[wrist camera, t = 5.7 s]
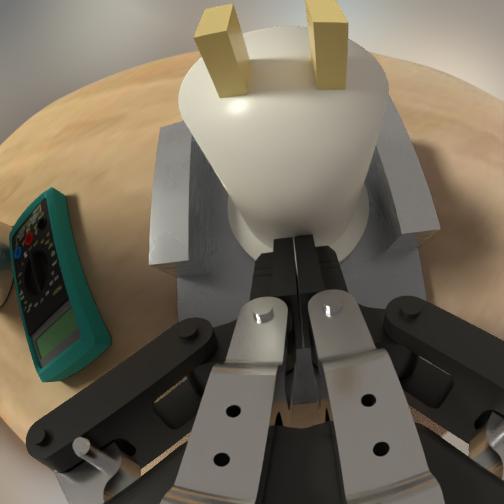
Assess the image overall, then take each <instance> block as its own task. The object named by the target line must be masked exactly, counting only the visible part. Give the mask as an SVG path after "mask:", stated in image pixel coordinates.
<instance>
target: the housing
mask: <svg viewBox="0 0 504 504" xmlns="http://www.w3.org/2000/svg"><path fill="white" fill-rule="evenodd" d="M364 184H365V187H366V189H367V193H368V198H369V217H368V221H367V225H366V228H365V230H364V233H363V235H362V237H361V239H360V240H359V242H358V244H357V246H356V247H355V249H354V250H353V251H352V252H351V254H350V255H349V256H348V257H346V258H345V259H344V260H343V261H342V262H340V263H339V264H340V268H341V270H342V273H343V276H344V279H345V283H346V286H347V289H348V292H349V293H350V294H351V295H352V296H353V297H354V298H355V299H356V301H357V303H358V304H360V305H363V306H366V307H370V308H380V309H386V306H387V305H388V303H389V302H390V301H391V300H392V299H394V298H397V297H400V296H415V297H418V298H421V299H423V300H425V301H427V299H426V292H425V285H424V279H423V273H422V267H421V262H420V257H419V252H418V247H420V246H421V245H422V244H423V243H425V242H426V241H427V240H428V239H429V238H431V237H432V236H433V235H434V234H435V233H437V232H438V231H439V230H440V229H441V228H440V224H439V221H438V217H437V213H436V210H435V206H434V203H433V200H432V197H431V193H430V190H429V187H428V184H427V181H426V178H425V176H424V173H423V170H422V167H421V165H420V162H419V159H418V157H417V154H416V152H415V149H414V147H413V144H412V142H411V140H410V137H409V135H408V133H407V131H406V128H405V126H404V124H403V122H402V120H401V118H400V115H399V113H398V111H397V109H396V107H395V105H394V103H393V101H392V99H391V97H390V96H389V95H388V102H387V106H386V110H385V113H384V117H383V121H382V125H381V128H380V132H379V136H378V139H377V143H376V146H375V149H374V153H373V156H372V159H371V163H370V166H369V169H368V172H367V175H366V178H365V181H364ZM228 197H229V194H228V192H227V191H226V189H225V188H224V186H223V184H222V183H221V181H220V179H219V178H218V176H217V174H216V173H215V171H214V169H213V168H212V166H211V164H210V163H209V161H208V159H207V158H206V156H205V155H204V153H203V151H202V150H201V148H200V146H199V145H198V143H197V141H196V140H195V138H194V137H193V135H192V133H191V132H190V130H189V128H188V127H187V125H186V124H185V122H184V120H183V121H182V122H179V123H175V124H172V125H168V126H165V127H161V128H160V133H159V140H158V148H157V155H156V164H155V173H154V182H153V193H152V206H151V220H150V240H149V265H150V266H152V267H154V268H157V269H159V270H161V271H164V272H166V273H168V274H171V275H173V276H175V277H177V304H178V322H180V321H182V320H185V319H188V318H193V317H198V318H203V319H206V320H208V321H209V322H210V323H211V325H212V327H216V326H220V325H223V324H227V323H229V322H232V321H234V320H236V319H238V316H239V312H240V310H241V309H242V307H243V306H244V305H245V304H246V303H248V302H249V300H250V293H251V286H252V279H253V272H254V265H255V260H254V259H253V258H252V257H250V256H249V255H248V253H247V252H246V251H245V250H244V249H243V247H242V246H241V245H240V244H239V242H238V241H237V239H236V237H235V236H234V234H233V231H232V229H231V226H230V223H229V218H228ZM297 278H298V276H297ZM298 289H299V284H298ZM299 302H300V296H299ZM300 316H301V331H302V347H303V349H296V364H295V368H296V371H295V384H294V396H293V404H305V403H315V402H317V396H316V390H315V384H314V378H313V372H312V360H311V348H305V347H304V336H303V325H302V315H301V305H300ZM420 358H422V357H421V356H420ZM422 359H423V360H425V361H427V360H426V359H424V358H422ZM427 362H428V363H430V364H431V365H432V363H431V362H429V361H427ZM186 379H187V377H186V376H185V377H184V378H183V379H182V383H183V382H184V381H185V380H186Z"/></svg>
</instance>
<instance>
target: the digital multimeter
mask: <svg viewBox="0 0 504 504" xmlns="http://www.w3.org/2000/svg"><path fill="white" fill-rule="evenodd" d="M53 237H54V238H53ZM54 242H55V243H54ZM9 245H10V254H11V262H12V269H13V275H14V281H15V287H16V292H17V298H18V303H19V308H20V313H21V317H22V321H23V326H24V330H25V334H26V338H27V342H28V345H29V349H30V352H31V356H32V359H33V362H34V365H35V368H36V371H37V373H38V375H39V377H40V379H41V381H42V382H54V381H61V380H63V379H65V378H67V377H69V376H71V375H73V374H75V373H77V372H78V371H80V370H81V369H83V368H84V367H86V366H87V365H88V364H90V363H91V362H92V361H93V360H94V359H96V358H97V357H98V356H99V355H100V354H101V353H103V352H104V351H105V350H106V349H107V348H108V347H109V346H110V344H111V338H110V335H109V333H108V331H107V329H106V327H105V324H104V322H103V320H102V318H101V316H100V314H99V311H98V309H97V307H96V304H95V302H94V300H93V297H92V295H91V293H90V290H89V288H88V285H87V282H86V279H85V276H84V273H83V270H82V267H81V264H80V261H79V257H78V254H77V251H76V247H75V242H74V238H73V234H72V229H71V225H70V221H69V215H68V209H67V202H66V196H65V195H64V194H62V193H60V192H59V191H57V190H56V189H54V188H53V187H51V188H49V189H48V190H47V191H45V192H44V193H42V194H41V195H40V196H39V197H38V198H37V199H35V200H34V201H33V202H32V203H31V204H30V205H29V206H28V207H27V209H26V210H25V211H24V212H23V214H22V215H21V216H20V217H19V219H18V220H17V222H16V224H15V225H14V227H13V228H12V230H11V232H10V234H9ZM55 247H56V248H55ZM56 251H57V252H56ZM59 264H60V265H59ZM63 279H64V280H63ZM65 286H66V287H65Z"/></svg>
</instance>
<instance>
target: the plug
mask: <svg viewBox="0 0 504 504" xmlns="http://www.w3.org/2000/svg"><path fill="white" fill-rule="evenodd" d="M305 4H306V14H307V23H308V27H300V26H281V27H270V28H264V29H259V30H254V31H251V32H247V33H244V34H242V31H241V28H240V24H239V21H238V18H237V15H236V11H235V9H234V5H233V4H228V5H223V6H218V7H213V8H209V9H206V10H205V11H204V13H203V16H202V18H201V20H200V23H199V25H198V28H197V30H196V33H195V35H194V40H195V42H196V44H197V47H198V49H199V51H200V54H201V56H202V57H201V58H200V59H199V60H198V61H197V62H196V63H195V64H194V65H193V66H192V67H191V69H190V70H189V71H188V73H187V74H186V76H185V78H184V80H183V82H182V85H181V87H180V91H179V97H178V105H179V110H180V113H181V116H182V118H183V120H184V122H185V124H186V125H187V127H188V128H189V130H190V132H191V133H192V135H193V137H194V138H195V140H196V141H197V143H198V145H199V146H200V148H201V150H202V151H203V153H204V155H205V156H206V158H207V159H208V161H209V163H210V164H211V166H212V168H213V169H214V171H215V173H216V174H217V176H218V178H219V179H220V181H221V183H222V184H223V186H224V188H225V189H226V191H227V192H228V194H229V197H228V218H229V223H230V226H231V229H232V231H233V234H234V236H235V237H236V239H237V241H238V242H239V244H240V245H241V246H242V247H243V249H244V250H245V251H246V252H247V253H248V255H249V256H250V257H252V258H253V259H254V260H255V261H256V259H257V258H258V257H259V256H260V255H261V253H268V252H273V243H274V239H279V238H287V237H292V238H293V245H294V253H295V261H296V251H295V241H294V237H295V236H304V235H312V234H313V238H314V242H315V247H318V246H327V245H328V246H329V247H330V248H332V249H333V250H334V251H335V252H336V255H337V258H338V261H339V263H340V262H342V261H343V260H344V259H345V258H346V257H348V256H349V255H350V254H351V252H352V251H353V250H354V249H355V247H356V246H357V244H358V242H359V240H360V239H361V237H362V235H363V233H364V230H365V228H366V225H367V221H368V217H369V198H368V193H367V189H366V187H365V184H364V181H365V178H366V175H367V172H368V169H369V166H370V163H371V159H372V156H373V153H374V149H375V146H376V143H377V139H378V136H379V132H380V128H381V125H382V121H383V117H384V113H385V110H386V106H387V102H388V95H389V86H388V81H387V78H386V75H385V72H384V71H383V69H382V67H381V65H380V64H379V63H378V61H377V60H376V59H375V58H374V57H373V56H372V55H371V54H370V53H369V52H368V51H367V50H365V49H364V48H363V47H361V46H360V45H358V44H357V43H355V42H353V41H351V40H350V39H348V21H347V19H346V17H345V16H344V14H343V12H342V10H341V8H340V7H339V5H338V3H337V1H336V0H305ZM296 269H297V262H296ZM297 276H298V273H297Z"/></svg>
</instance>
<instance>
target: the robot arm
mask: <svg viewBox="0 0 504 504" xmlns="http://www.w3.org/2000/svg"><path fill="white" fill-rule="evenodd" d="M11 230H12V227H11V226H9V225H7V224H5V223H3V222H0V307H1V305H2V304H3V303H4V301H5V300H6V298H7V296H8V293H9V291H10V288H11V285H12V281H13V277H14V275H13V269H12V262H11V254H10V245H9V234H10V232H11ZM294 241H295V251H296V261H295V253H294V245H293V238H292V237H287V238H279V239H274V243H273V252H268V253H261V255H260V256H259V257H258V258H257V259H256V261H255V265H254V272H253V279H252V286H251V293H250V300H249V302H248V303H246V304H245V305H244V306H243V307H242V309H241V310H240V312H239V316H238V319H236V320H234V321H232V322H229V323H227V324H223V325H220V326H216V327H212V325H211V323H210V322H209V321H208V320H206V319H203V318H198V317H193V318H188V319H185V320H182V321H180V322H178V323H177V324H175V325H174V326H172V327H171V328H170V329H168V330H167V331H165V332H164V333H163V334H161V335H160V336H158V337H157V338H156V339H154V340H153V341H151V342H150V343H149V344H147V345H146V346H144V347H143V348H142V349H140V350H139V351H137V352H136V353H134V354H133V355H132V356H130V357H129V358H127V359H126V360H125V361H123V362H122V363H120V364H119V365H117V366H116V367H115V368H113V369H112V370H110V371H109V372H108V373H106V374H105V375H103V376H102V377H100V378H99V379H97V380H96V381H95V382H93V383H92V384H90V385H89V386H87V387H86V388H85V389H83V390H82V391H80V392H79V393H77V394H76V395H74V396H73V397H72V398H70V399H69V400H67V401H66V402H64V403H63V404H61V405H60V406H58V407H57V408H55V409H54V410H53V411H51V412H50V413H48V414H47V415H45V416H44V417H42V418H41V419H39V420H38V421H36V422H35V423H34V424H33V425H32V426H31V427H30V429H29V431H28V433H27V437H26V447H27V450H28V452H29V454H30V455H31V456H32V457H34V458H35V459H37V460H38V461H40V462H41V463H42V464H44V465H46V466H47V467H49V468H50V469H51V470H52V471H53V472H54V473H55V475H56V477H57V480H58V482H59V484H60V486H61V488H62V491H63V492H64V494H65V497H66V499H67V500H68V503H69V504H504V341H502V340H501V339H499V338H497V337H495V336H493V335H491V334H489V333H487V332H486V331H484V330H482V329H480V328H478V327H476V326H474V325H472V324H470V323H468V322H466V321H464V320H462V319H461V318H459V317H457V316H455V315H453V314H451V313H449V312H447V311H445V310H443V309H441V308H439V307H437V306H435V305H433V304H431V303H429V302H427V301H425V300H423V299H421V298H418V297H415V296H400V297H397V298H394V299H392V300H391V301H390V302H389V303H388V305H387V306H386V309H380V308H370V307H366V306H363V305H360V304H358V303H357V301H356V299H355V298H354V297H353V296H352V295H351V294H350V293H349V292H348V289H347V286H346V283H345V279H344V276H343V273H342V270H341V268H340V264H339V261H338V258H337V255H336V252H335V251H334V250H333V249H332V248H330V247H329V246H328V245H327V246H318V247H315V242H314V238H313V234H312V235H304V236H295V237H294ZM296 262H297V269H296ZM297 273H298V278H297ZM298 284H299V289H298ZM299 296H300V302H299ZM300 305H301V315H302V325H303V336H304V347H305V348H311V360H312V372H313V378H314V384H315V390H316V396H317V402H318V409H319V416H320V424H318V425H315V426H312V427H308V428H304V429H298V428H292V407H293V396H294V384H295V371H296V368H295V364H296V349H303V347H302V331H301V316H300ZM420 356H421V357H422V358H424V359H426V360H427V361H429V362H431V363H432V364H434V365H436V366H437V367H439V368H441V369H442V370H444V371H446V372H447V373H449V374H450V375H451V376H450V375H448V374H446V373H445V372H443V371H441V370H440V369H438V368H436V367H435V366H433V365H431V364H430V363H428V362H427V361H425V360H423V359H422V358H420ZM185 376H186V377H187V379H186V380H185V381H184V382H183V383H181V384H180V385H179V386H178V387H176V388H175V389H174V390H172V391H171V392H170V393H169V394H167V395H166V396H165V397H163V398H162V399H161V400H159V401H158V402H156V403H154V402H155V400H156V399H157V398H158V397H160V396H161V395H162V394H164V393H165V392H166V391H167V390H169V389H170V388H171V387H173V386H174V385H175V384H176V383H178V382H179V381H180V380H182V379H183V378H184V377H185ZM408 404H409V405H410V406H412V407H413V408H415V409H416V410H417V411H419V412H420V413H422V414H423V415H425V416H426V417H428V418H429V419H431V420H432V421H434V422H435V423H437V424H438V425H440V426H442V427H443V428H445V429H446V430H448V431H449V432H451V433H452V434H454V435H455V436H457V437H458V438H460V439H462V440H463V441H465V442H466V443H468V444H469V456H467V455H465V454H464V453H462V452H461V451H460V450H458V449H457V448H455V447H454V446H452V445H451V444H450V443H448V442H447V441H445V440H444V439H443V438H441V437H440V436H439V435H437V434H436V433H434V432H433V431H432V430H430V429H429V428H427V427H425V426H423V425H421V424H419V423H416V422H414V420H413V417H412V414H411V411H410V409H409V406H408ZM191 430H192V431H191ZM190 431H191V434H190V437H189V440H188V441H187V442H185V443H184V444H182V445H181V446H179V447H178V448H176V449H175V450H174V451H173V452H172V453H170V454H169V455H168V456H167V457H165V458H164V459H163V460H162V461H160V462H159V463H158V464H157V465H155V466H154V467H153V468H152V469H150V470H149V471H148V472H146V473H145V474H144V475H142V476H141V469H142V468H143V467H144V466H146V465H147V464H149V463H150V462H151V461H153V460H154V459H155V458H157V457H158V456H159V455H161V454H162V453H163V452H165V451H166V450H167V449H169V448H170V447H171V446H173V445H174V444H175V443H176V442H178V441H179V440H180V439H182V438H183V437H184V436H185V435H187V434H188V433H189V432H190Z"/></svg>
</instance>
